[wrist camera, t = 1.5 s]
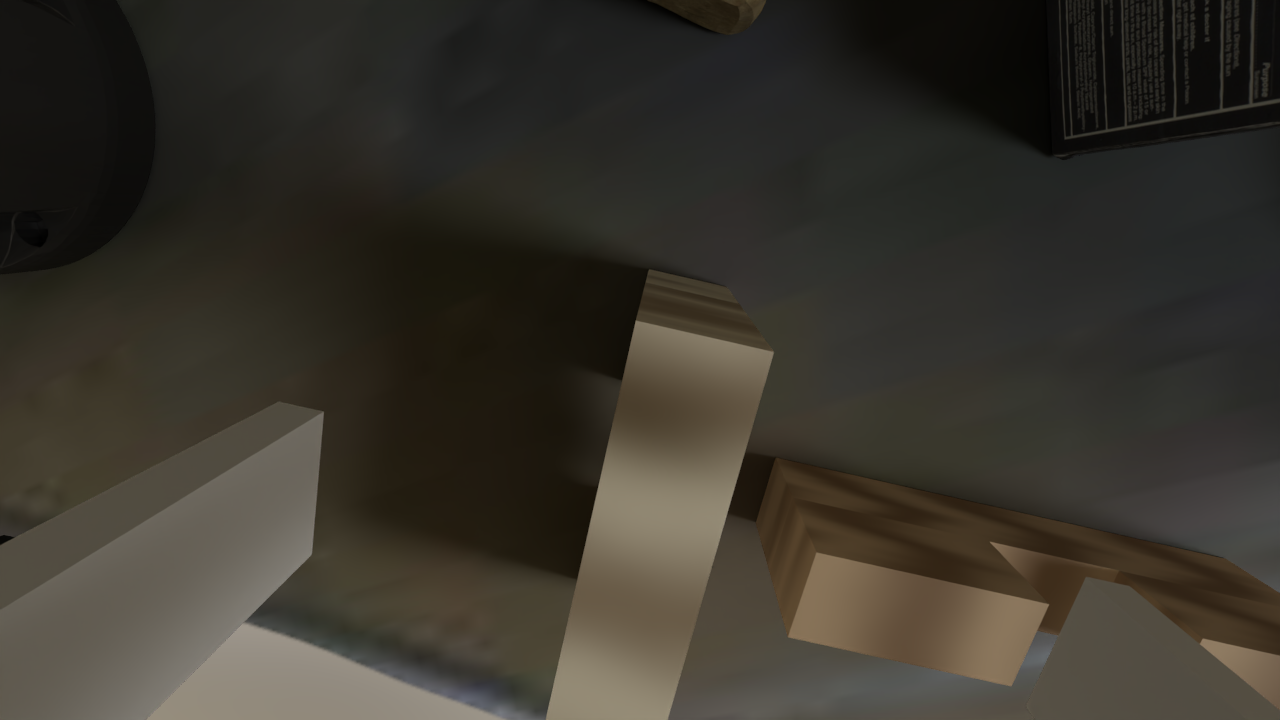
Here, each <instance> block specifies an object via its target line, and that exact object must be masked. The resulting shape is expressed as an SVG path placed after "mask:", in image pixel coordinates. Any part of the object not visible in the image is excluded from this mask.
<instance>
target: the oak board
mask: <svg viewBox="0 0 1280 720" xmlns="http://www.w3.org/2000/svg"><path fill="white" fill-rule="evenodd" d="M756 525H757V529H758V532H759V536H760V540H761V543H762V547H763V550H764V554H765V557H766V561H767V564H768V568H769V572H770V575H771V579H772V582H773V586H774V589H775V593H776V597H777V600H778V604H779V607H780V611H781V614H782V618H783V621H784V625H785V629H786V632H787V636H788V637H790V638H794V639H799V640H803V641H808V642H812V643H817V644H821V645H826V646H831V647H835V648H840V649H844V650H849V651H853V652H858V653H862V654H867V655H871V656H876V657H880V658H885V659H890V660H894V661H899V662H903V663H908V664H912V665H917V666H921V667H926V668H930V669H935V670H939V671H944V672H948V673H953V674H958V675H962V676H967V677H971V678H976V679H980V680H985V681H989V682H994V683H998V684H1003V685H1007V686H1012V684H1013V682H1014V680H1015V677H1016V675H1017V673H1018V671H1019V669H1020V667H1021V664H1022V662H1023V660H1024V658H1025V656H1026V654H1027V651H1028V649H1029V647H1030V645H1031V643H1032V641H1033V638H1034V636H1035V634H1036V632H1037V631H1041V632H1045V633H1050V634H1054V635H1059V634H1060V632H1061V629H1062V627H1063V625H1064V623H1065V621H1066V619H1067V617H1068V614H1069V612H1070V610H1071V608H1072V606H1073V604H1074V601H1075V599H1076V597H1077V595H1078V593H1079V591H1080V589H1081V586H1082V584H1083V582H1084V580H1085V578H1086V577H1090V578H1094V579H1099V580H1104V581H1108V582H1113V583H1118V584H1122V585H1127V586H1130V587H1131V588H1133V589H1134V590H1135V591H1136V592H1137V593H1139V594H1140V595H1141V596H1142V597H1143V598H1145V599H1146V600H1147V601H1148V602H1149V603H1151V604H1152V605H1153V606H1154V607H1155V608H1157V609H1158V610H1159V611H1160V612H1162V613H1163V614H1164V615H1165V616H1166V617H1168V618H1169V619H1170V620H1171V621H1172V622H1174V623H1175V624H1176V625H1177V626H1178V627H1180V628H1181V629H1182V630H1183V631H1185V632H1186V633H1187V634H1188V635H1189V636H1191V637H1192V638H1193V639H1194V640H1195V641H1197V642H1198V643H1199V644H1200V645H1201V646H1203V647H1204V648H1205V649H1206V650H1208V651H1209V652H1210V653H1211V654H1212V655H1214V656H1215V657H1216V658H1217V659H1218V660H1220V661H1221V662H1222V663H1223V664H1224V665H1226V666H1227V667H1228V668H1229V669H1231V670H1232V671H1233V672H1234V673H1235V674H1237V675H1238V676H1239V677H1240V678H1241V679H1243V680H1244V681H1245V682H1246V683H1247V684H1249V685H1250V686H1251V687H1252V688H1253V689H1255V690H1256V691H1257V692H1258V693H1260V694H1261V695H1262V696H1263V697H1264V698H1266V699H1267V700H1268V701H1269V702H1270V703H1272V704H1273V705H1274V706H1275V707H1276V708H1278V709H1279V710H1280V593H1279V592H1277V591H1275V590H1274V589H1272V588H1271V587H1269V586H1268V585H1266V584H1264V583H1263V582H1261V581H1260V580H1258V579H1257V578H1255V577H1253V576H1252V575H1250V574H1249V573H1247V572H1246V571H1244V570H1242V569H1241V568H1239V567H1238V566H1236V565H1235V564H1233V563H1231V562H1230V561H1228V560H1227V559H1224V558H1220V557H1215V556H1211V555H1206V554H1202V553H1197V552H1193V551H1189V550H1184V549H1180V548H1175V547H1171V546H1166V545H1162V544H1157V543H1153V542H1149V541H1144V540H1140V539H1135V538H1131V537H1126V536H1122V535H1118V534H1113V533H1109V532H1104V531H1100V530H1095V529H1091V528H1086V527H1082V526H1078V525H1073V524H1069V523H1064V522H1060V521H1055V520H1051V519H1046V518H1042V517H1038V516H1033V515H1029V514H1024V513H1020V512H1015V511H1011V510H1007V509H1002V508H998V507H993V506H989V505H984V504H980V503H975V502H971V501H967V500H962V499H958V498H953V497H949V496H944V495H940V494H935V493H931V492H927V491H922V490H918V489H913V488H909V487H904V486H900V485H896V484H891V483H887V482H882V481H878V480H873V479H869V478H864V477H860V476H856V475H851V474H847V473H842V472H838V471H833V470H829V469H824V468H820V467H816V466H811V465H807V464H802V463H798V462H793V461H789V460H784V459H780V458H775V461H774V464H773V468H772V471H771V474H770V478H769V481H768V484H767V487H766V491H765V494H764V497H763V501H762V504H761V507H760V510H759V514H758V517H757V520H756Z"/></svg>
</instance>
